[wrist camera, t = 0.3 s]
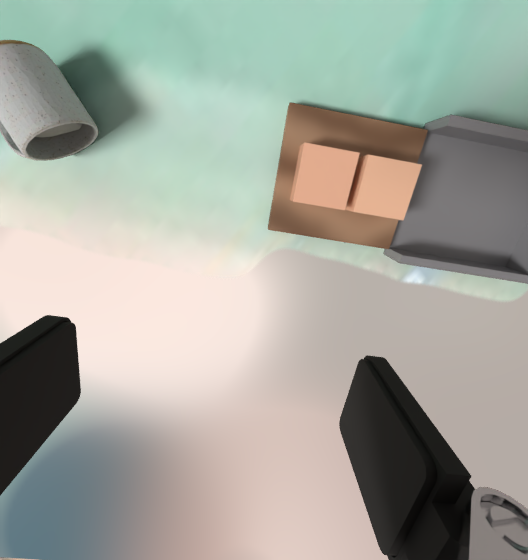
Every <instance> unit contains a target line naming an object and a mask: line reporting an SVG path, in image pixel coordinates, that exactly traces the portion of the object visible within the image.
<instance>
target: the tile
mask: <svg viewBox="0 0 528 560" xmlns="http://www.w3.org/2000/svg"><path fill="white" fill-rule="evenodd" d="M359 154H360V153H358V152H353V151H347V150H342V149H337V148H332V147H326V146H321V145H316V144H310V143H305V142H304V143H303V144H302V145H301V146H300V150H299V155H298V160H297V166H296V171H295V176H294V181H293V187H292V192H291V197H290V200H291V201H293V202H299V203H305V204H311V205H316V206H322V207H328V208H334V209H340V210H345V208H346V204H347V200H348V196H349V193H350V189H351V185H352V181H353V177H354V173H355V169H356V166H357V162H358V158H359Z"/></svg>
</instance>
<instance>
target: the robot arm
mask: <svg viewBox="0 0 528 560" xmlns="http://www.w3.org/2000/svg"><path fill="white" fill-rule="evenodd" d="M77 351H78V350H77V338H76V327H75V324H73V323H71V321H70V319H69V318H66V317H58V316H51V315H47V316H44V317H42V318H41V319H39V320H37V321H36V322H34V323H33V324H31V325H29V326H28V327H26V328H24V329H23V330H21V331H20V332H18V333H17V334H15V335H13V336H12V337H10V338H8V339H7V340H5V341H4V342H2V343H0V495H1V494H2V493H3V491H4V490H5V489H6V488H7V486H8V485H9V484H10V483H11V481H12V480H13V479H14V478H15V477H16V476H17V474H18V473H19V472H20V471H21V470H22V468H23V467H24V466H25V465H26V464H27V462H28V461H29V460H30V459H31V458H32V456H33V455H34V454H35V452H36V451H37V450H38V449H39V448H40V447H41V445H42V444H43V443H44V442H45V441H46V439H47V438H48V437H49V436H50V434H51V433H52V432H53V431H54V430H55V428H56V427H57V426H58V425H59V423H60V422H61V421H62V420H63V419H64V417H65V416H66V415H67V414H68V413H69V411H70V410H71V409H72V408H73V407H74V405H75V404H76V403H77V401H78V399H79V397H80V393H81V389H80V376H79V363H78V352H77ZM340 431H341V434H342V437H343V440H344V443H345V446H346V449H347V452H348V455H349V458H350V461H351V464H352V467H353V470H354V473H355V476H356V479H357V482H358V485H359V488H360V491H361V494H362V497H363V500H364V503H365V506H366V509H367V512H368V515H369V518H370V521H371V524H372V527H373V530H374V533H375V535H376V539H377V542H378V545H379V547H380V550H381V551H382V553H383V554H384V555H387V556H388V559H389V560H528V509H526V508H525V507H524V506H523V505H522V504H520V503H518V502H517V501H516V500H514V499H513V498H512V497H510V496H508V495H506V494H504V493H502V492H500V491H498V490H495V489H492V488H488V487H479V488H478V489H476V490H475V489H474V487H473V486H472V484H471V483H470V482H469V479H470V478H471V475H470V474H469V472H468V471H467V469H466V468H465V467H464V465H463V464H462V463H461V461H460V460H459V458H458V457H457V456H456V454H455V453H454V452H453V450H452V449H451V448H450V446H449V445H448V443H447V442H446V441H445V439H444V438H443V437H442V435H441V434H440V433H439V431H438V430H437V428H436V427H435V426H434V424H433V423H432V422H431V420H430V419H429V417H428V416H427V415H426V413H425V412H424V411H423V409H422V408H421V407H420V405H419V404H418V402H417V401H416V400H415V398H414V397H413V396H412V394H411V393H410V392H409V390H408V389H407V387H406V386H405V385H404V383H403V382H402V381H401V379H400V378H399V376H398V375H397V374H396V372H395V371H394V370H393V368H392V367H391V366H390V364H389V363H388V362H387V360H386V359H385V358H383V357H375V356H366V357H365V358H364V359H361V360H360V361H359V362H358V365H357V368H356V372H355V375H354V378H353V381H352V384H351V387H350V390H349V393H348V396H347V399H346V402H345V405H344V408H343V411H342V414H341V417H340ZM0 560H37V559H19V558H2V557H0Z"/></svg>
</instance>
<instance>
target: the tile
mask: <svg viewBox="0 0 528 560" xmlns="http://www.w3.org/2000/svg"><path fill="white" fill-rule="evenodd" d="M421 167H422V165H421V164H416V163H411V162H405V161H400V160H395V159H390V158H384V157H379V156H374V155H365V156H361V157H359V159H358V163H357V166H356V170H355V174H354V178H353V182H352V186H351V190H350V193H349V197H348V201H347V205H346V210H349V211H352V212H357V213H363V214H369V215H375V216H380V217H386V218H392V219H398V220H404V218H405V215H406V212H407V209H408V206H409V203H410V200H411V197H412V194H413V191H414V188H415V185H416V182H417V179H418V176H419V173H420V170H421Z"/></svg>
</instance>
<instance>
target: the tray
mask: <svg viewBox="0 0 528 560" xmlns="http://www.w3.org/2000/svg"><path fill="white" fill-rule="evenodd" d="M424 129H425V130H428V132H427V135H426V138H425V141H424V144H423V147H422V150H421V153H420V156H419V159H418V162H417V164H421V165H422V167H421V170H420V173H419V176H418V179H417V182H416V185H415V188H414V191H413V194H412V197H411V200H410V203H409V206H408V209H407V212H406V215H405V218H404V220H398V223H397V226H396V229H395V232H394V235H393V239H392V242H391V245H390V248H389V249H385V251H384V255H386V256H388V257H390V258H391V259H393V260H395V261H397V262H398V263H401V264H408V265H414V266H420V267H427V268H433V269H439V270H445V271H452V272H458V273H464V274H471V275H477V276H483V277H489V278H496V279H502V280H508V281H515V282H521V283H527V284H528V130H523V129H518V128H513V127H509V126H504V125H499V124H494V123H489V122H484V121H479V120H475V119H470V118H465V117H460V116H455V115H449V116H446V117H443V118H440V119H437V120H434V121H431V122H428V123H426V124H425V127H424Z"/></svg>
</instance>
